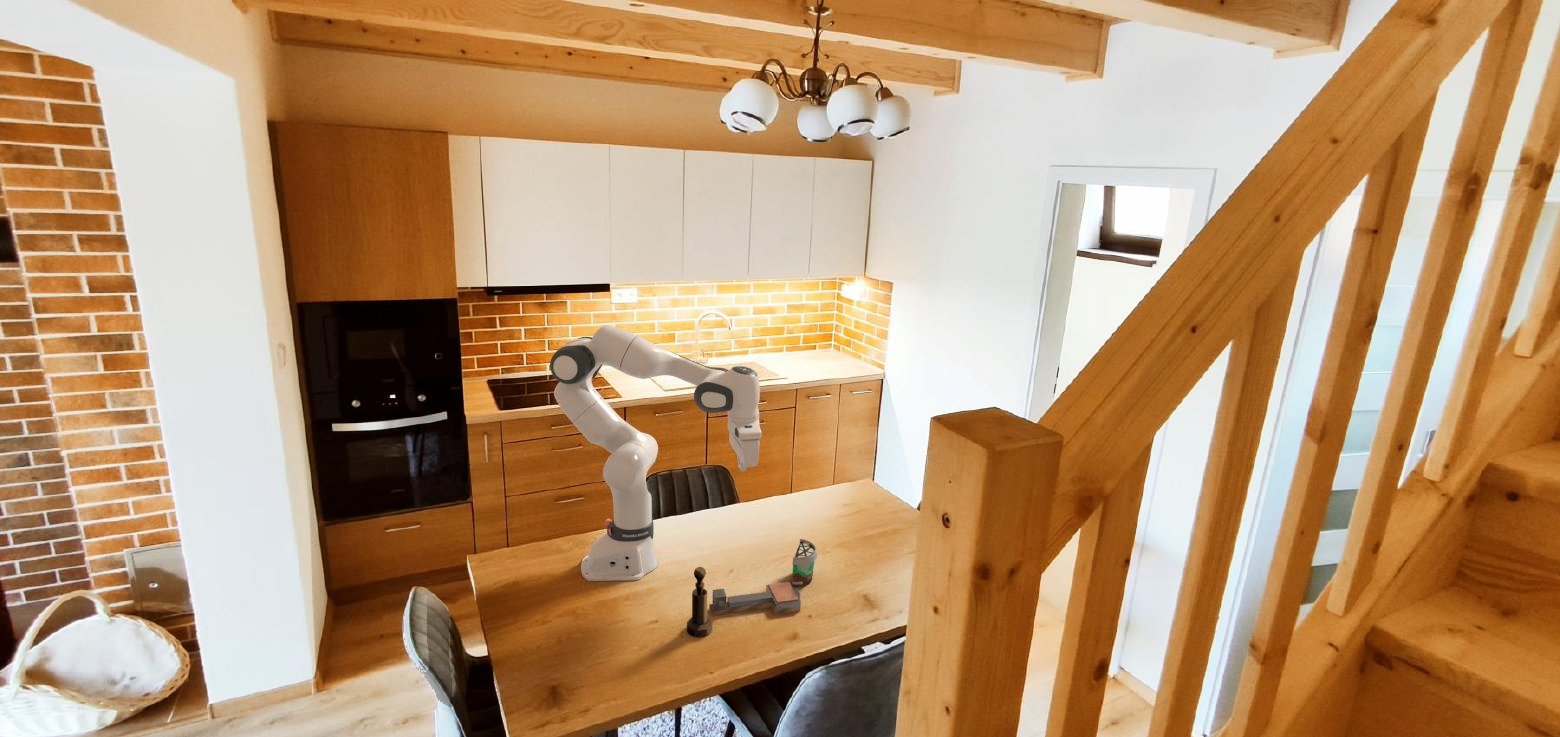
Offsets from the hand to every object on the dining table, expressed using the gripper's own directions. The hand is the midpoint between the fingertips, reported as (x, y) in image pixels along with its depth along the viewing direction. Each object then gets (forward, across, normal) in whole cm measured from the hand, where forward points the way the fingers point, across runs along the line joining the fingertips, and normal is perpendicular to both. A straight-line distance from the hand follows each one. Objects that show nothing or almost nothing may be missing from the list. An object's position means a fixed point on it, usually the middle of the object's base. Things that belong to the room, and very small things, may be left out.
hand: (742, 469), depth 211 cm
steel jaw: (+32, +18, +2) cm, 36 cm away
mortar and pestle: (+33, +25, -17) cm, 45 cm away
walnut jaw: (+33, +18, 0) cm, 38 cm away
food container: (+33, +8, +18) cm, 39 cm away
